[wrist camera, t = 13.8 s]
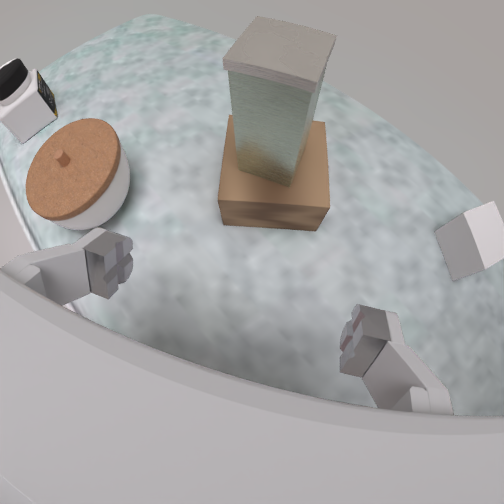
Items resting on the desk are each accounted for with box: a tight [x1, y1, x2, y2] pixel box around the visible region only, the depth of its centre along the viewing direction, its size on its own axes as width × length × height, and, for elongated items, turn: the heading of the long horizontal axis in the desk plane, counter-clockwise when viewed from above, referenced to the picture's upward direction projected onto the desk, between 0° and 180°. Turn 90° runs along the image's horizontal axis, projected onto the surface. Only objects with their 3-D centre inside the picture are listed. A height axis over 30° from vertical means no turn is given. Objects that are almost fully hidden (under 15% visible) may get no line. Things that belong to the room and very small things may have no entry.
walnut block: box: [218, 115, 330, 231], centre depth 28 cm, size 9×9×6 cm
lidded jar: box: [26, 118, 130, 230], centre depth 26 cm, size 11×11×9 cm
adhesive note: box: [434, 201, 504, 281], centre depth 26 cm, size 6×6×6 cm
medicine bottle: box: [0, 59, 58, 143], centre depth 28 cm, size 7×7×12 cm
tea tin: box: [223, 16, 336, 188], centre depth 19 cm, size 5×5×12 cm
